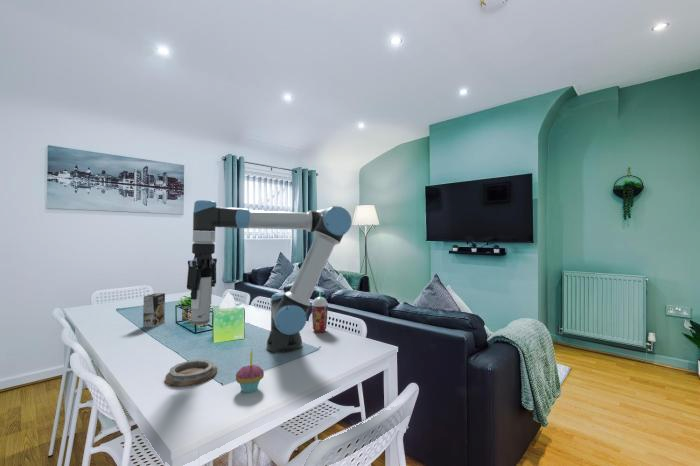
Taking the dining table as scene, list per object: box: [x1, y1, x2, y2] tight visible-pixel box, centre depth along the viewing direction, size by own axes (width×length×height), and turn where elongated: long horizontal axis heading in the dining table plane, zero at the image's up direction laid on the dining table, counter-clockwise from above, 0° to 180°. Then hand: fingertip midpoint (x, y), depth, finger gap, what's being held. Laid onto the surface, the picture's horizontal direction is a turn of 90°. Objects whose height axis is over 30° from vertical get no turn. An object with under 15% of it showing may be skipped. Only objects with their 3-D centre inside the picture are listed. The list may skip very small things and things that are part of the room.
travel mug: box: [190, 268, 212, 325], centre depth 117 cm, size 6×7×20 cm
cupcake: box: [235, 348, 265, 394], centre depth 101 cm, size 9×8×12 cm
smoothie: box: [310, 291, 329, 334], centre depth 162 cm, size 8×8×20 cm
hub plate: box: [164, 358, 218, 387], centre depth 111 cm, size 16×16×3 cm
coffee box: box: [142, 292, 166, 328], centre depth 170 cm, size 9×6×16 cm
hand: (201, 306), depth 117 cm, fingers closed on travel mug, 6 cm apart
